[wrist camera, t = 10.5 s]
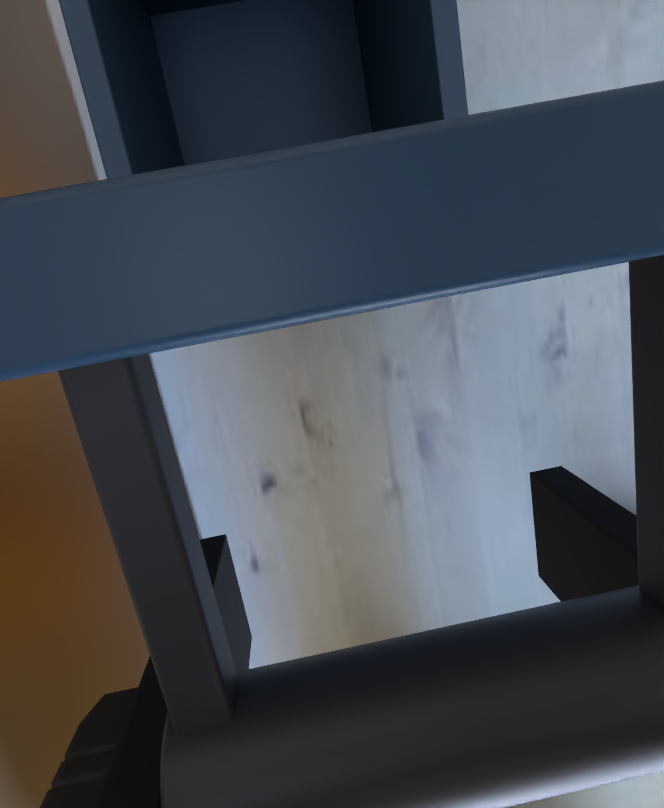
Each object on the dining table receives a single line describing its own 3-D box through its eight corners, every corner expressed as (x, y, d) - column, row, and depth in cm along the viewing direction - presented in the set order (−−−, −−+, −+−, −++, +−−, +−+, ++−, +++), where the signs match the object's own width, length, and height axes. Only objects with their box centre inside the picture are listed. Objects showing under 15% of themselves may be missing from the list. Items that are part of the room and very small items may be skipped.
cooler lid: (-1028, 375, 2) (-268, 1243, 4) (1684, -105, 3) (1295, 851, 5) (132, 290, 20) (180, 465, 21) (484, 224, 20) (502, 400, 22)
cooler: (133, 8, 30) (-8, -240, 16) (361, -29, 31) (425, -303, 16) (201, 293, 35) (139, 301, 20) (401, 256, 35) (481, 237, 21)
